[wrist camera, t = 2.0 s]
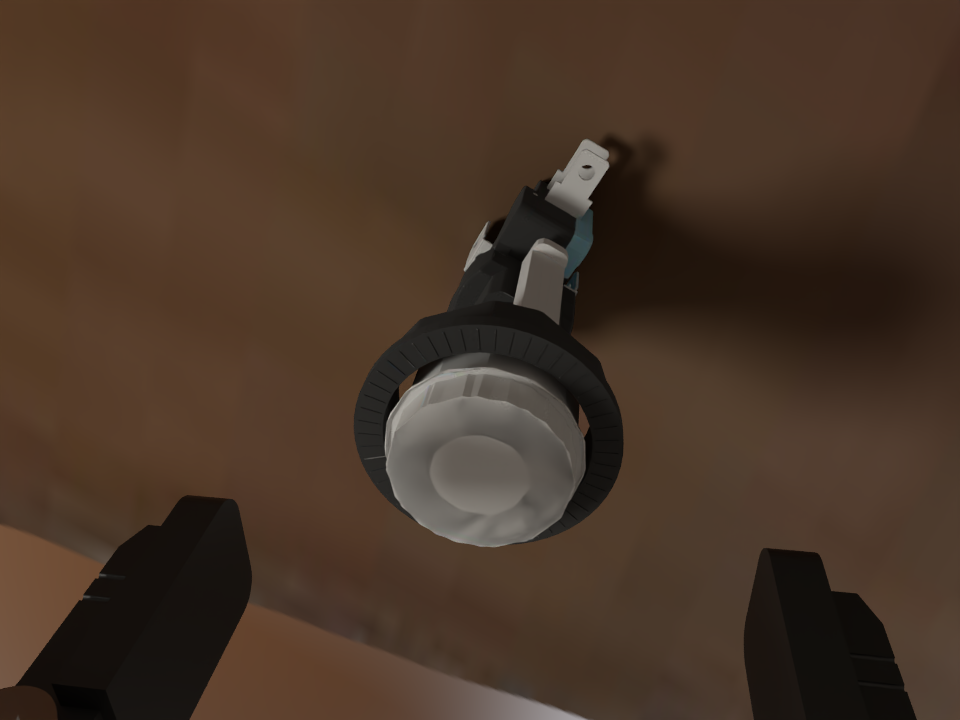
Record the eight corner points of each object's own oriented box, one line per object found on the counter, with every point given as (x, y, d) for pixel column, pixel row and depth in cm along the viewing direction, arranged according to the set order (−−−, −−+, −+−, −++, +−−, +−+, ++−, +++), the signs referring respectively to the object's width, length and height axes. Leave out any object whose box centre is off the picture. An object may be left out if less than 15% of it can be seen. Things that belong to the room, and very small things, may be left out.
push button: (514, 88, 21) (452, 234, 13) (684, 191, 22) (732, 392, 14) (404, 284, 25) (298, 502, 16) (555, 367, 26) (529, 616, 17)
